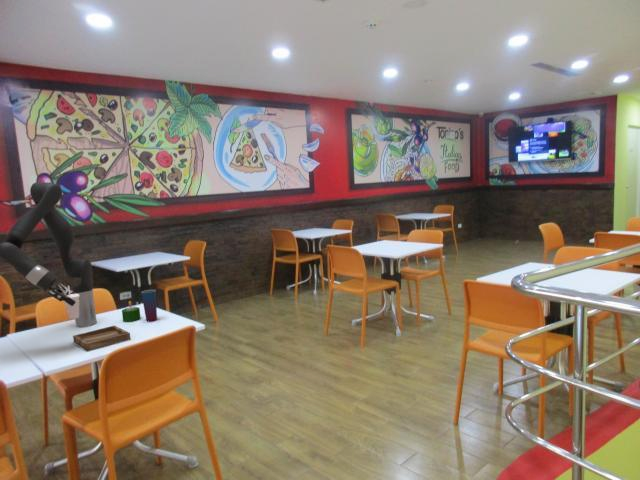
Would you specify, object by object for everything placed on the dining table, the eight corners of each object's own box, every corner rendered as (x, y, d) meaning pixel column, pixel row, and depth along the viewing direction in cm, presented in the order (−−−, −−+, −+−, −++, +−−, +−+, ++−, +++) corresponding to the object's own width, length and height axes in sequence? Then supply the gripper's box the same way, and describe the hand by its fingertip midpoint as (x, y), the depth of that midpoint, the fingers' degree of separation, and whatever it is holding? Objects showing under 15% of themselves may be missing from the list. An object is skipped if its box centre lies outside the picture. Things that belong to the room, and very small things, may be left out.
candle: (136, 322, 228) (134, 302, 227) (120, 322, 228) (118, 303, 227) (143, 317, 236) (141, 298, 235) (127, 317, 236) (125, 299, 235)
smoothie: (70, 316, 197) (65, 284, 195) (85, 314, 197) (81, 283, 195) (62, 320, 190) (58, 288, 188) (78, 319, 191) (74, 287, 189)
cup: (154, 322, 225) (150, 292, 223) (141, 322, 226) (138, 293, 225) (161, 318, 232) (158, 289, 230) (149, 318, 233) (146, 289, 231)
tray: (73, 342, 202) (72, 335, 201) (115, 331, 214) (114, 325, 214) (87, 351, 189) (86, 344, 188) (130, 339, 201) (129, 332, 201)
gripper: (41, 274, 182) (77, 299, 187) (53, 267, 196) (87, 291, 200) (29, 288, 182) (65, 313, 186) (41, 280, 196) (75, 304, 200)
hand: (76, 302), depth 193 cm, fingers closed on smoothie, 6 cm apart
